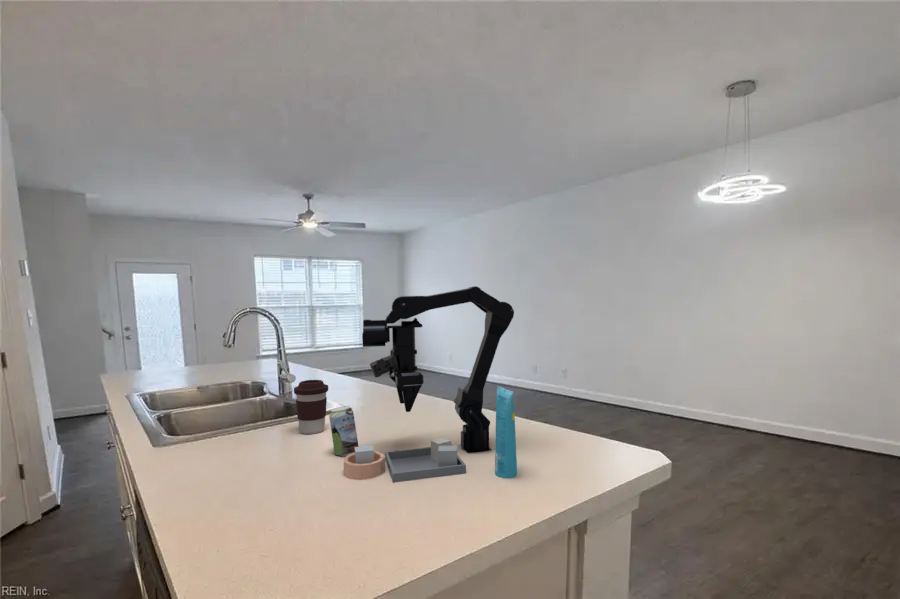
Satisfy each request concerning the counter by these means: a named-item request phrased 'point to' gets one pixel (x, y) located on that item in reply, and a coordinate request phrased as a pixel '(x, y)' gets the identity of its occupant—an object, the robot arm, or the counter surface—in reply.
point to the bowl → (364, 467)
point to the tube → (505, 435)
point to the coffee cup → (311, 406)
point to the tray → (418, 465)
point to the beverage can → (343, 431)
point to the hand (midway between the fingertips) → (405, 407)
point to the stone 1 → (364, 454)
